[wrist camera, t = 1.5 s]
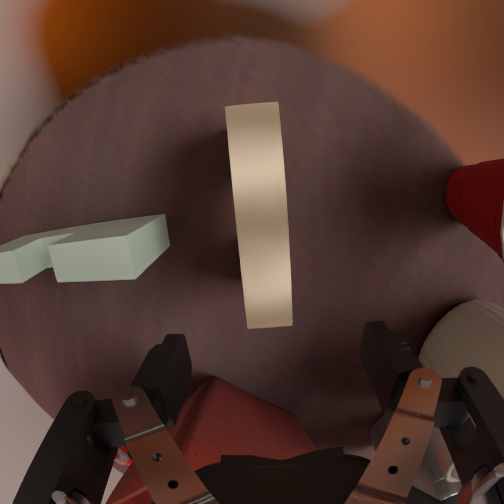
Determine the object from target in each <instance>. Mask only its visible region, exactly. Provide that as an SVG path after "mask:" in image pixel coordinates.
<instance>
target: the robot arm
mask: <svg viewBox="0 0 504 504" xmlns="http://www.w3.org/2000/svg"><path fill="white" fill-rule="evenodd" d="M361 360H362V363H363V366H364V368H365V370H366V373H367V375H368V377H369V379H370V382H371V384H372V386H373V389H374V391H375V394H376V396H377V398H378V401H379V403H380V406H381V408H382V411H383V413H384V414H385V415H383V416H382V417H381V418H379V419H378V420H377V421H376V422H375V423H374V425H373V426H372V427H371V430H370V437H371V440H372V444H373V447H374V450H375V454H374V456H373V458H372V460H369V459H366V458H363V457H360V456H356V455H349V454H344V451H343V447H338V448H331V449H324V450H317V451H312V452H308V453H305V454H302V455H299V456H296V457H292V458H289V459H285V460H278V459H271V458H265V457H259V456H254V455H221V460H220V462H218V463H214V464H210V465H207V466H204V467H202V468H200V469H198V470H196V471H194V470H193V469H192V467H191V466H190V465H189V463H188V462H187V460H186V459H185V457H184V456H183V454H182V453H181V451H180V450H179V448H178V447H177V445H176V443H175V442H174V440H173V439H172V437H171V435H170V434H169V432H168V430H167V429H166V426H173V427H175V426H176V422H177V419H178V415H179V412H180V409H181V405H182V402H183V399H184V395H185V392H186V389H187V385H188V382H189V379H190V375H191V371H192V364H191V358H190V355H189V351H188V346H187V342H186V338H185V336H184V334H167V335H166V336H165V338H164V340H163V342H162V344H161V345H160V344H157V345H155V346H154V347H153V348H152V349H151V350H149V352H148V354H147V355H146V357H145V360H144V361H143V363H142V366H141V367H140V369H139V371H138V372H137V374H136V376H135V378H134V380H133V382H132V384H131V386H130V387H125V388H123V389H121V390H119V391H118V392H117V393H116V394H115V395H114V397H113V399H105V400H95V398H94V396H93V395H92V394H91V393H90V392H87V391H78V392H75V393H73V394H71V395H70V396H69V397H68V398H67V399H66V401H65V403H64V404H63V406H62V408H61V409H60V411H59V413H58V415H57V416H56V418H55V420H54V422H53V423H52V425H51V427H50V429H49V430H48V432H47V434H46V436H45V438H44V440H43V442H42V443H41V445H40V447H39V449H38V451H37V453H36V455H35V457H34V459H33V461H32V463H31V465H30V467H29V469H28V471H27V473H26V475H25V477H24V479H23V481H22V483H21V486H20V488H19V490H18V492H17V494H16V496H15V499H14V501H13V504H101V501H102V498H103V494H104V491H105V488H106V485H107V481H108V478H109V475H110V472H111V469H112V466H113V463H114V460H115V457H116V454H117V451H118V448H119V447H124V446H127V448H128V450H129V452H130V455H131V457H132V459H133V461H134V463H135V466H136V468H137V470H138V472H139V474H140V476H141V478H142V480H143V482H144V484H145V486H146V488H147V490H148V492H149V493H150V495H151V497H152V499H153V502H152V503H150V504H504V399H503V397H502V396H501V394H500V393H499V391H498V390H497V388H496V387H495V386H494V384H493V383H492V381H491V380H490V379H489V377H488V376H487V374H486V373H485V372H484V371H483V370H481V369H479V368H477V367H466V368H464V369H462V370H461V372H460V374H459V376H458V378H441V376H440V375H439V373H438V372H436V371H435V370H433V369H430V368H424V367H423V365H422V364H421V363H420V361H419V360H418V358H417V357H416V355H415V354H414V352H413V351H412V349H410V346H409V345H408V343H406V341H405V339H404V338H403V336H402V335H401V334H399V333H398V332H396V331H395V330H389V329H388V328H387V326H386V325H385V323H384V322H383V321H382V320H380V321H373V322H367V323H365V326H364V333H363V340H362V347H361ZM470 416H471V418H472V420H473V422H474V423H475V426H476V428H475V426H474V424H473V422H472V420H471V418H470ZM434 427H439V429H440V431H441V434H442V436H443V438H444V441H445V443H446V446H447V448H448V450H449V453H450V455H451V458H452V461H453V463H454V466H455V468H456V471H457V474H458V476H459V479H460V481H458V482H448V481H447V480H446V479H445V473H446V470H447V468H448V464H447V461H446V458H445V455H444V453H443V450H442V447H441V443H440V440H439V437H438V434H437V433H436V431H435V429H434Z"/></svg>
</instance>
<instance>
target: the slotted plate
mask: <svg viewBox="0 0 504 504" xmlns="http://www.w3.org/2000/svg"><path fill="white" fill-rule="evenodd" d="M225 112H226V123H227V134H228V145H229V156H230V166H231V177H232V187H233V197H234V207H235V217H236V227H237V236H238V246H239V255H240V265H241V274H242V283H243V292H244V301H245V310H246V319H247V328H248V329H251V328H267V327H281V326H292V293H291V269H290V248H289V230H288V214H287V199H286V185H285V172H284V159H283V148H282V137H281V126H280V116H279V106H278V102H268V103H254V104H243V105H234V106H225Z"/></svg>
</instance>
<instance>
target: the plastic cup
mask: <svg viewBox="0 0 504 504" xmlns="http://www.w3.org/2000/svg"><path fill="white" fill-rule="evenodd" d="M446 202H447V206H448V210H449V211H450V212H451V214H452V215H453V217H454V218H455V219H456V220H457V221H459V222H460V223H462V224H463V225H464V226H466V227H467V228H468V229H469V230H470V231H471V232H472V233H473V234H475V235H476V236H477V237H479V238H480V239H481V240H482V241H483V242H485V243H486V244H487V245H488V246H489V247H491V248H492V249H493V250H494V251H495V252H497V254H498V256H499V257H500V258H501V259H503V261H504V159H498V160H492V161H486V162H480V163H478V164H475V165H468V166H464V167H462V168H459V169H458V170H456V171H454V172H453V174H452V175H451V176H450V178H449V180H448V183H447V187H446Z"/></svg>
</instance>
